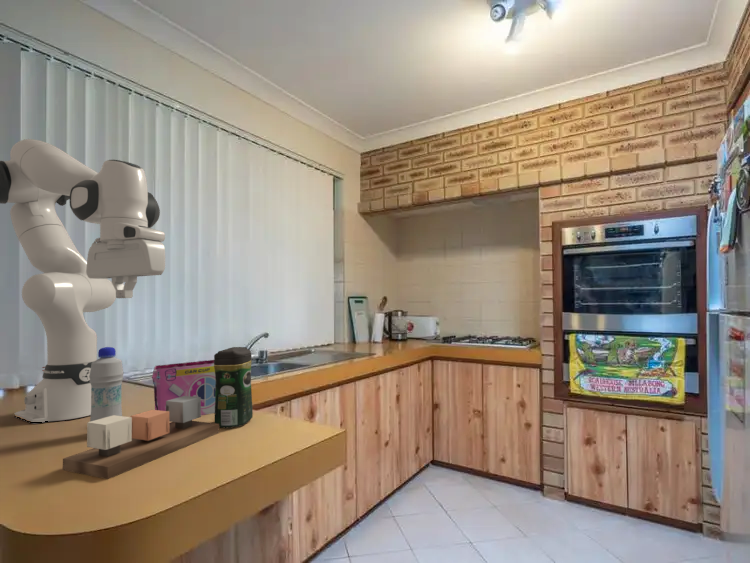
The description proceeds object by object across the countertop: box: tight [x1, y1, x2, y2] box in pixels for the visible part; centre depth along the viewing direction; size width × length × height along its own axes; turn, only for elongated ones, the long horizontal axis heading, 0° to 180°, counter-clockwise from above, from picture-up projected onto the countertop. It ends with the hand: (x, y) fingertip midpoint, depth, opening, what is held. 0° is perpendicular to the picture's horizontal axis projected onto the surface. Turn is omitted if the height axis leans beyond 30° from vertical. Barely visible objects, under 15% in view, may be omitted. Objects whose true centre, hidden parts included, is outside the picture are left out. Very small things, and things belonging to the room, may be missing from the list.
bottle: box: [89, 346, 124, 422], centre depth 95 cm, size 7×7×20 cm
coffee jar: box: [213, 346, 254, 429], centre depth 101 cm, size 10×8×19 cm
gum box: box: [151, 359, 216, 416], centre depth 113 cm, size 24×8×14 cm, turn 128°
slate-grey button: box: [166, 396, 202, 423], centre depth 92 cm, size 5×5×4 cm
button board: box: [62, 420, 220, 480], centre depth 84 cm, size 12×26×6 cm, turn 158°
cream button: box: [86, 415, 132, 450], centre depth 76 cm, size 5×5×4 cm
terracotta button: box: [129, 409, 170, 441], centre depth 84 cm, size 5×5×4 cm
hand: (124, 298), depth 88 cm, fingers closed
